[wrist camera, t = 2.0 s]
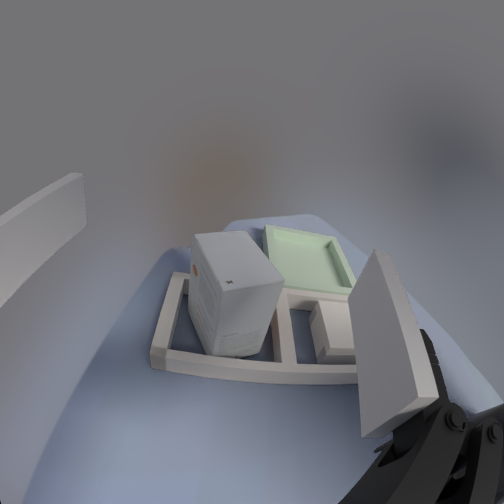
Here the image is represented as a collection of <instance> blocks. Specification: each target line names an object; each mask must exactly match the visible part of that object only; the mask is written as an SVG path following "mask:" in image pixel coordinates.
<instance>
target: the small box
mask: <svg viewBox="0 0 504 504" xmlns="http://www.w3.org/2000/svg"><path fill="white" fill-rule="evenodd" d="M284 282H285V279H284V278H283V277H282V275H281V274H280V273H279V272H278V270H277V269H276V268H275V267H274V265H273V264H272V263H271V262H270V260H269V259H268V258H267V257H266V255H265V254H264V253H263V252H262V250H261V249H260V248H259V247H258V245H257V244H256V243H255V242H254V240H253V239H252V238H251V237H250V235H249V234H248V233H247V231H227V232H215V233H201V234H194V235H193V239H192V251H191V264H190V279H189V296H188V313H189V315H190V317H191V320H192V322H193V325H194V327H195V330H196V332H197V335H198V337H199V339H200V342H201V344H202V346H203V349H204V351H205V353H206V355H209V356H217V357H224V358H233V359H239V358H243V357H247V356H250V355H254V354H257V353H259V352H260V349H261V347H262V344H263V341H264V339H265V336H266V333H267V330H268V327H269V325H270V322H271V319H272V316H273V314H274V311H275V308H276V305H277V302H278V300H279V297H280V294H281V291H282V288H283V285H284Z"/></svg>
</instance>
